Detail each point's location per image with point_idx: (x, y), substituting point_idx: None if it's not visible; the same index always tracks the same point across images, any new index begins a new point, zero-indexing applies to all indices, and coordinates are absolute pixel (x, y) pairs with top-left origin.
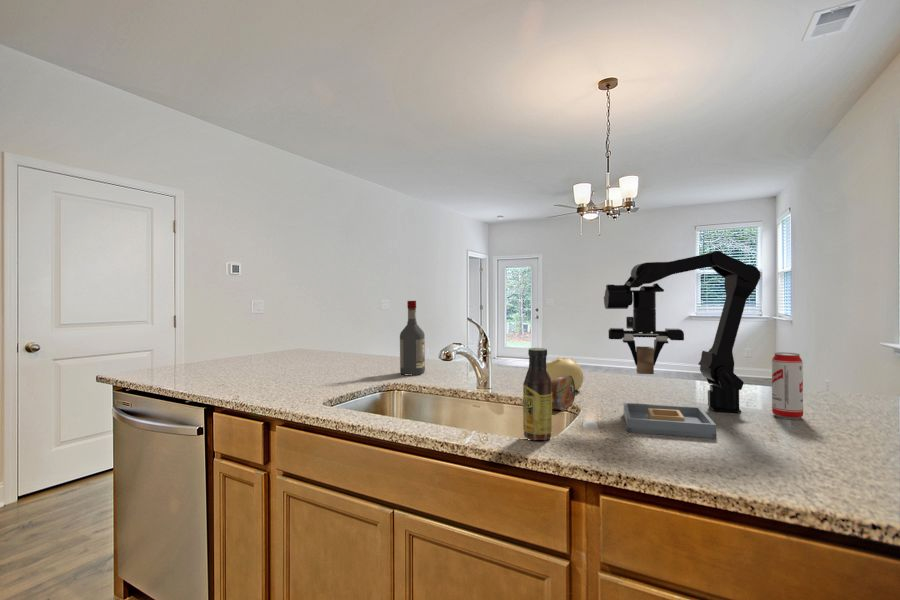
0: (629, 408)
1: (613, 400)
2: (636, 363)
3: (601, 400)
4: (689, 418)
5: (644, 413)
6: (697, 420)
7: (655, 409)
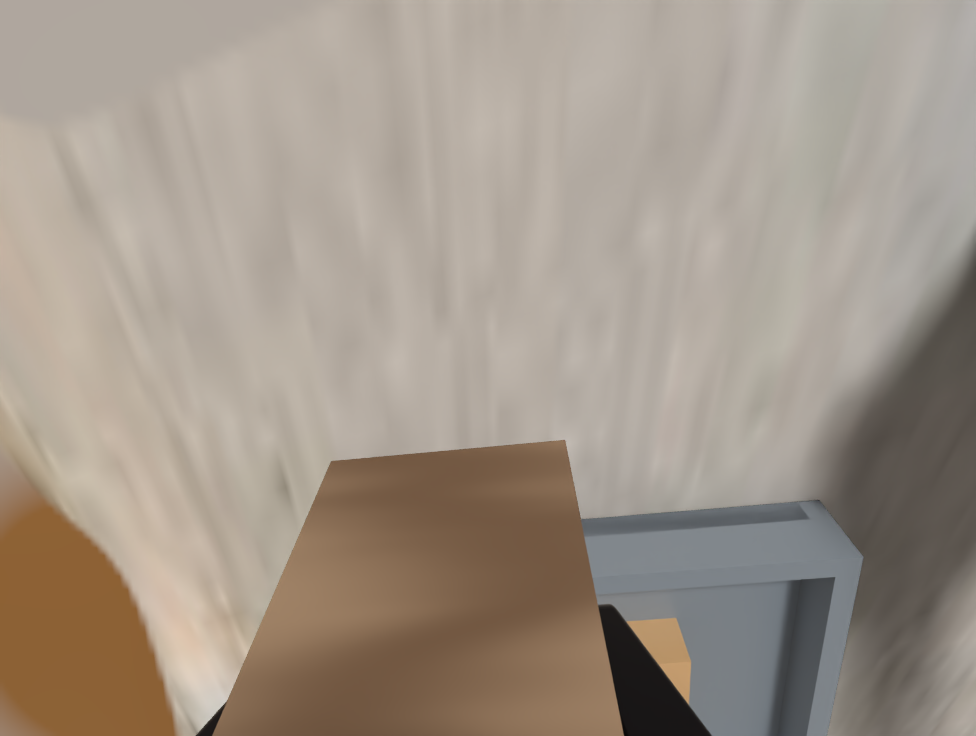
0: None
1: (166, 120)
2: None
3: (67, 167)
4: (735, 605)
5: None
6: (770, 628)
7: None
